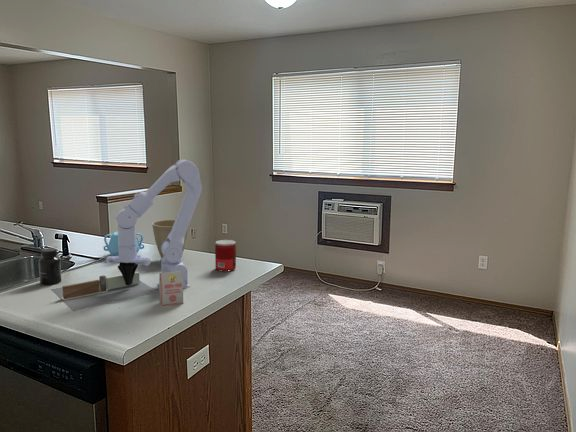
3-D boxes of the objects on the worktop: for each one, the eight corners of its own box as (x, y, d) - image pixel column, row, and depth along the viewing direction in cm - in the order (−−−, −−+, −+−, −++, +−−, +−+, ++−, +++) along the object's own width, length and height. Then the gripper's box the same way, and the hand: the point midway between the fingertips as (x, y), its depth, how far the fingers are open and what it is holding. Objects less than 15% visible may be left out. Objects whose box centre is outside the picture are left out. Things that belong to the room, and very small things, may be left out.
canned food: (238, 270, 180) (238, 243, 178) (217, 272, 177) (217, 244, 175) (233, 265, 187) (233, 239, 185) (213, 267, 184) (213, 240, 182)
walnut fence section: (107, 291, 153) (106, 276, 152) (64, 299, 145) (63, 284, 144) (105, 289, 155) (104, 275, 154) (62, 298, 146) (61, 282, 145)
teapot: (105, 251, 205) (104, 225, 203) (144, 249, 210) (143, 224, 208) (102, 263, 186) (100, 235, 184) (145, 261, 191) (144, 233, 189)
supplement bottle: (37, 286, 157) (35, 252, 155) (42, 280, 163) (40, 247, 161) (59, 285, 159) (57, 251, 157) (63, 279, 165) (61, 247, 163)
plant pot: (161, 267, 183) (160, 227, 180) (148, 258, 195) (146, 221, 192) (195, 261, 191) (195, 224, 189) (181, 254, 203) (180, 218, 201)
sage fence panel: (139, 283, 161) (139, 272, 160) (107, 289, 154) (107, 278, 153) (138, 282, 162) (137, 271, 161) (106, 288, 155) (105, 277, 154)
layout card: (158, 292, 154) (158, 291, 153) (73, 311, 136) (73, 310, 136) (129, 275, 172) (129, 274, 172) (50, 289, 154) (50, 288, 154)
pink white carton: (159, 302, 145) (158, 271, 143) (181, 299, 148) (180, 269, 146) (161, 306, 142) (160, 275, 140) (183, 303, 144) (182, 273, 143)
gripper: (153, 243, 156) (154, 282, 158) (113, 241, 158) (115, 279, 161) (143, 248, 149) (145, 288, 152) (102, 246, 151) (104, 285, 154)
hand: (129, 284), depth 156 cm, fingers closed
